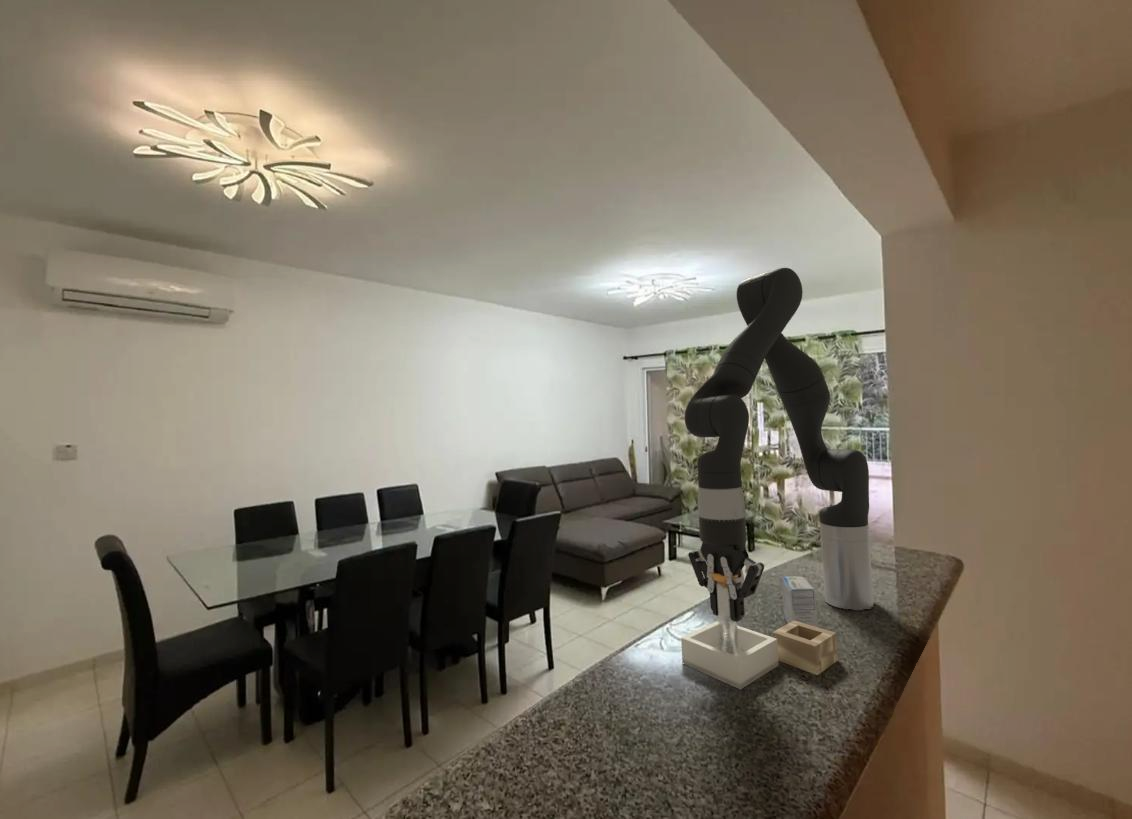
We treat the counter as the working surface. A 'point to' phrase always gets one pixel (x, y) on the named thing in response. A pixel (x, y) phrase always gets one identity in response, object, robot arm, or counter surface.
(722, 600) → the pin
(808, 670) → the pin block
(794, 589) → the medicine box
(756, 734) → the counter surface
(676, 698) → the counter surface
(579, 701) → the counter surface
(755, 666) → the tray
